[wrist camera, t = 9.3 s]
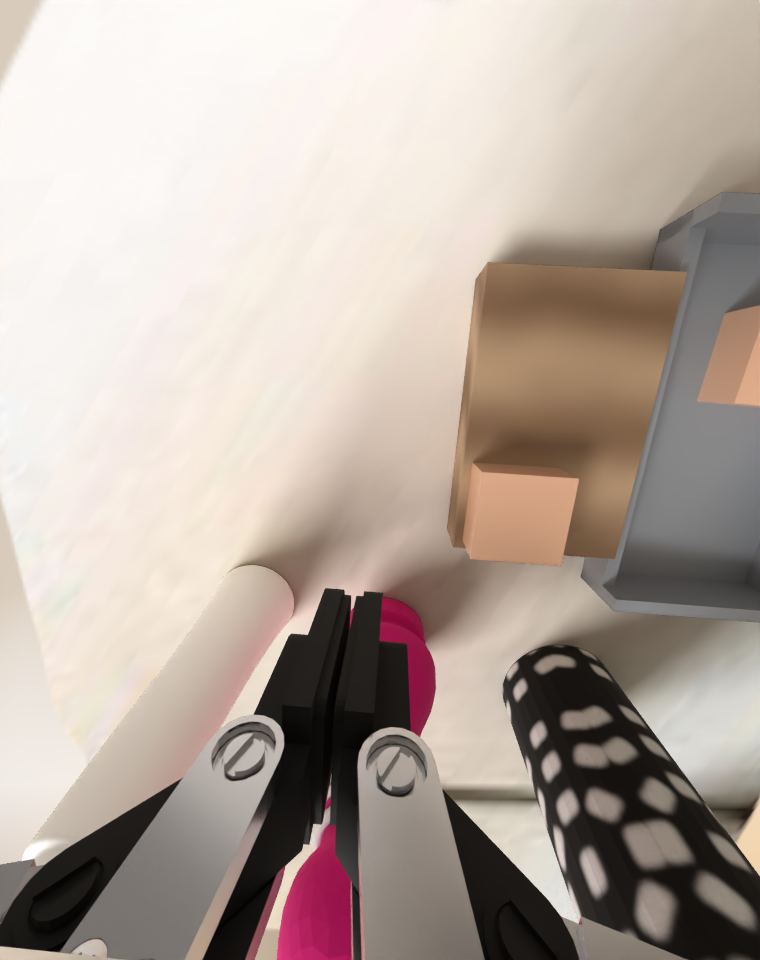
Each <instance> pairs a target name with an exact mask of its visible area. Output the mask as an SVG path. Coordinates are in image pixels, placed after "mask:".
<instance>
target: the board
mask: <svg viewBox="0 0 760 960" xmlns="http://www.w3.org/2000/svg"><path fill="white" fill-rule="evenodd" d="M686 275H687V272H676V271H656V270H636V269H615V268H595V267H574V266H554V265H533V264H513V263H492V262H488V263H487V265H486V266H485V267H484V269H483V270H482V272H481V273H480V274H479V276H478V277H477V278H476V282H475V291H474V299H473V308H472V317H471V325H470V334H469V343H468V352H467V360H466V369H465V378H464V386H463V395H462V404H461V412H460V421H459V430H458V438H457V447H456V456H455V464H454V473H453V482H452V490H451V499H450V508H449V516H448V525H447V530H448V533H449V536H450V538H451V541H452V544H453V547H460V548H465V545H464V543H463V541H462V540H463V532H464V524H465V516H466V508H467V501H468V493H469V485H470V477H471V469H472V462H475V463H490V464H505V465H520V466H535V467H550V468H559V469H561V470H563V471H565V472H567V473H569V474H571V475H573V476H575V477H577V478H579V483H578V488H577V492H576V497H575V502H574V507H573V511H572V516H571V521H570V526H569V531H568V535H567V540H566V545H565V550H564V554H563V555H567V556H580V557H594V558H607V559H615V557H616V553H617V549H618V545H619V541H620V537H621V533H622V529H623V525H624V521H625V517H626V513H627V509H628V505H629V501H630V497H631V493H632V489H633V485H634V481H635V478H636V474H637V470H638V466H639V462H640V458H641V454H642V450H643V446H644V442H645V438H646V434H647V430H648V426H649V422H650V418H651V414H652V410H653V406H654V402H655V398H656V394H657V390H658V386H659V382H660V378H661V374H662V370H663V366H664V362H665V358H666V355H667V351H668V347H669V343H670V339H671V335H672V331H673V327H674V323H675V319H676V315H677V311H678V307H679V303H680V299H681V295H682V291H683V287H684V283H685V279H686Z"/></svg>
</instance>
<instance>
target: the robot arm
mask: <svg viewBox="0 0 760 960" xmlns="http://www.w3.org/2000/svg"><path fill="white" fill-rule="evenodd" d="M382 596H383V593H379V592H366V591H364V596H356V601H355V606H354V611H353V616H352V621H351V626H350V613H351V595H345V591H344V590H341V589H328V588H326V589H325V590H324V593H323V596H322V598H321V601H320V604H319V606H318V609H317V612H316V615H315V617H314V620H313V623H312V625H311V628H310V631H309V633H308V635H301V634H291V635H290V636H289V637H288V639H287V641H286V644H285V646H284V648H283V650H282V652H281V655H280V657H279V659H278V661H277V664H276V666H275V668H274V670H273V673H272V675H271V677H270V679H269V682H268V684H267V686H266V688H265V690H264V693H263V695H262V697H261V699H260V702H259V704H258V706H257V708H256V711H255V713H254V715H249V716H244V717H240V718H238V719H235V720H233V721H231V722H229V723H228V724H226V725H225V726H223V727H222V728H221V729H219V730H218V731H217V732H216V734H215V735H214V736H213V737H212V738H211V739H210V740H209V742H208V743H207V745H206V746H205V747H204V749H203V750H202V752H201V753H200V754H199V756H198V757H197V759H196V760H195V762H194V763H193V764H192V766H191V767H190V769H189V770H188V771H187V773H186V774H185V776H184V777H183V778H181V779H179V780H178V781H176V782H175V783H173V784H171V785H170V786H168V787H166V788H165V789H163V790H161V791H160V792H158V793H157V794H155V795H153V796H152V797H150V798H148V799H147V800H145V801H143V802H142V803H140V804H139V805H137V806H135V807H134V808H132V809H130V810H129V811H127V812H125V813H124V814H122V815H121V816H119V817H117V818H116V819H114V820H112V821H111V822H109V823H107V824H106V825H104V826H102V827H101V828H99V829H98V830H96V831H94V832H93V833H91V834H89V835H88V836H86V837H84V838H83V839H81V840H80V841H78V842H76V843H75V844H73V845H71V846H70V847H68V848H66V849H65V850H64V851H62V852H61V853H60V854H58V855H57V856H55V857H54V858H53V859H51V860H50V861H49V862H47V863H46V864H45V865H40V866H36V863H35V859H30V860H24V861H18V862H13V863H7V864H1V865H0V960H255V957H256V954H257V951H258V948H259V945H260V942H261V939H262V936H263V934H264V931H265V928H266V925H267V923H268V920H269V917H270V914H271V911H272V908H273V905H274V903H275V900H276V897H277V894H278V891H279V888H280V886H281V883H282V879H283V874H284V870H285V866H286V865H287V864H288V863H289V862H290V861H291V860H292V859H293V858H294V857H295V856H296V855H297V854H299V853H300V852H301V851H302V848H303V844H308V845H309V843H310V838H311V833H312V827H313V824H320V825H322V823H323V818H324V813H325V807H326V801H327V796H328V790H329V784H330V778H331V804H330V826H336V837H335V855H336V857H337V858H338V860H339V862H340V863H341V865H342V867H343V868H344V870H345V872H346V873H347V875H348V877H349V878H350V880H351V889H350V890H351V954H352V960H687V959H684V958H682V957H679V956H677V955H674V954H672V953H670V952H667V951H665V950H662V949H660V948H657V947H655V946H652V945H650V944H647V943H645V942H642V941H640V940H638V939H635V938H633V937H630V936H628V935H625V934H623V933H620V932H618V931H615V930H613V929H610V928H608V927H606V926H603V925H601V924H598V923H596V922H593V921H591V920H588V919H586V918H583V917H581V918H580V921H579V924H578V923H575V922H573V921H570V920H568V919H566V918H563V917H561V916H560V915H559V914H558V912H557V911H556V910H555V908H554V907H553V906H552V905H551V903H550V902H549V901H548V899H547V898H546V897H545V896H544V895H543V894H542V893H541V892H540V891H539V890H538V889H537V888H536V887H535V886H534V885H533V884H532V883H531V882H530V880H529V879H528V878H527V877H526V876H525V875H524V874H523V873H522V872H521V871H520V870H519V869H518V868H517V867H516V866H515V865H514V864H513V863H512V862H511V861H510V860H509V858H508V857H507V856H506V855H505V854H504V853H503V852H502V851H501V850H500V849H499V848H498V847H497V846H496V845H495V844H494V843H493V842H492V841H491V840H490V839H489V838H488V836H487V835H486V834H485V833H484V832H483V831H482V830H481V829H480V828H479V827H478V826H477V825H476V824H475V823H474V822H473V821H472V820H471V819H470V818H469V817H468V816H467V814H466V813H465V812H464V811H463V810H462V809H461V808H460V807H459V806H458V805H457V804H456V803H455V802H454V801H453V800H452V799H451V798H450V797H449V796H448V795H447V794H446V792H445V791H444V790H443V789H442V787H441V783H440V779H439V775H438V771H437V767H436V763H435V760H434V757H433V755H432V752H431V750H430V748H429V747H428V746H427V744H426V743H425V742H424V741H423V739H421V738H420V737H419V736H417V735H416V734H415V733H413V732H411V722H410V697H409V673H408V649H407V643H398V642H386V641H379V640H380V626H381V611H382ZM331 773H332V775H331Z"/></svg>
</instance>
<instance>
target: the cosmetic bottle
mask: <svg viewBox="0 0 760 960" xmlns="http://www.w3.org/2000/svg"><path fill="white" fill-rule="evenodd" d="M293 611H294V597H293V593H292V591H291V589H290V587H289V585H288V584H287V582H286V581H285V580H284V579H283V578H282V577H281V576H280V575H279V574H277V573H276V572H274V571H273V570H271V569H268V568H266V567H262V566H257V565H246V566H241V567H238V568H235V569H233V570H231V571H230V572H228V573H227V574H226V575H225V576H224V577H223V578H222V580H221V581H220V583H219V585H218V587H217V589H216V591H215V593H214V594H213V596H212V598H211V600H210V601H209V603H208V605H207V606H206V608H205V609H204V611H203V612H202V614H201V615H200V617H199V618H198V620H197V621H196V623H195V624H194V626H193V627H192V628H191V630H190V631H189V633H188V634H187V635H186V637H185V638H184V640H183V641H182V642H181V644H180V645H179V646H178V648H177V649H176V650H175V652H174V653H173V654H172V656H171V657H170V658H169V660H168V661H167V662H166V664H165V665H164V666H163V668H162V669H161V670H160V672H159V673H158V674H157V676H156V677H155V678H154V680H153V681H152V682H151V683H150V685H149V686H148V687H147V689H146V690H145V691H144V693H143V694H142V695H141V696H140V698H139V699H138V700H137V702H136V703H135V704H134V706H133V707H132V708H131V709H130V711H129V712H128V713H127V715H126V716H125V717H124V719H123V720H122V721H121V722H120V724H119V725H118V726H117V728H116V729H115V730H114V732H113V733H112V734H111V735H110V737H109V738H108V739H107V741H106V742H105V743H104V745H103V746H102V747H101V749H100V750H99V751H98V753H97V754H96V755H95V757H94V758H93V759H92V760H91V762H90V763H89V764H88V766H87V767H86V768H85V770H84V771H83V772H82V774H81V775H80V776H79V778H78V779H77V780H76V782H75V783H74V784H73V786H72V787H71V788H70V790H69V791H68V792H67V794H66V795H65V796H64V798H63V799H62V800H61V802H60V803H59V804H58V806H57V807H56V808H55V810H54V811H53V813H52V814H51V815H50V817H49V818H48V819H47V821H46V822H45V823H44V825H43V826H42V827H41V829H40V830H39V831H38V833H37V834H36V835H35V837H34V838H33V840H32V841H31V842H30V844H29V845H28V846H27V848H26V850H25V852H24V855H23V859H22V861H24V860H30V859H35V863H36V866H40V865H45V864H46V863H47V862H49V861H50V860H51V859H53V858H54V857H55V856H57V855H58V854H60V853H61V852H62V851H64V850H65V849H66V848H68V847H70V846H71V845H73V844H75V843H76V842H78V841H80V840H81V839H83V838H84V837H86V836H88V835H89V834H91V833H93V832H94V831H96V830H98V829H99V828H101V827H102V826H104V825H106V824H107V823H109V822H111V821H112V820H114V819H116V818H117V817H119V816H121V815H122V814H124V813H125V812H127V811H129V810H130V809H132V808H134V807H135V806H137V805H139V804H140V803H142V802H143V801H145V800H147V799H148V798H150V797H152V796H153V795H155V794H157V793H158V792H160V791H161V790H163V789H165V788H166V787H168V786H170V785H171V784H173V783H175V782H176V781H178V780H179V779H181V778H183V777H184V776H185V774H186V773H187V771H188V770H189V769H190V767H191V766H192V764H193V763H194V762H195V760H196V759H197V757H198V756H199V754H200V753H201V752H202V750H203V749H204V747H205V746H206V745H207V743H208V742H209V740H210V739H211V738H212V737H213V736H214V735H215V734H216V732H217V731H218V730H219V729H220V727H221V726H222V724H223V722H224V720H225V719H226V717H227V715H228V713H229V712H230V710H231V708H232V707H233V705H234V703H235V701H236V700H237V698H238V696H239V695H240V693H241V691H242V689H243V688H244V686H245V684H246V683H247V681H248V679H249V678H250V676H251V674H252V673H253V671H254V669H255V668H256V666H257V665H258V663H259V662H260V660H261V658H262V657H263V655H264V654H265V652H266V651H267V649H268V648H269V646H270V645H271V644H272V642H273V641H274V639H275V638H276V637H277V635H278V634H279V633H280V631H281V630H282V629H283V628H284V627H285V625H286V624H287V623H288V622H289V620H290V618H291V616H292V614H293Z"/></svg>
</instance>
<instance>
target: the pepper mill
mask: <svg viewBox="0 0 760 960" xmlns="http://www.w3.org/2000/svg"><path fill="white" fill-rule="evenodd" d="M353 611H354V609H353V610H352V611H351V613H350V626H351V621H352V616H353ZM379 641H386V642H398V643H407V649H408V673H409V697H410V722H411V732H413V733H415V734H416V735H417V736H419V737H420V735H421V733H422V730H423V728H424V726H425V724H426V721H427V719H428V717H429V715H430V713H431V709H432V705H433V701H434V696H435V690H436V681H435V666H434V662H433V659H432V656H431V654H430V652H429V650H428V649H427V647H426V645H425V640H424V631H423V626H422V623H421V620H420V618H419V617H418V615H417V614H416V613H415V612H414V611H413V610H412V609H411V608H410V607H409V606H407V605H406V604H404V603H402V602H400V601H397V600H394V599H389V598H382V611H381V626H380V640H379ZM330 804H331V786H329V790H328V796H327V801H326V807H325V813H324V818H323V823H322V825H320V824H315V825H314V828H313V831H312V847H313V851H314V852H313V853H312V854H311V855H310V856H309V858H308V859H307V860H306V861H305V863H304V864H303V865H302V867H301V868H300V869H299V871H298V873H297V875H296V877H295V879H294V881H293V884H292V886H291V889H290V891H289V894H288V896H287V900H286V903H285V906H284V909H283V914H282V920H281V926H280V933H279V939H278V952H277V960H352V954H351V890H350V889H351V880H350V878H349V877H348V875H347V873H346V872H345V870H344V868H343V867H342V865H341V863H340V862H339V860H338V858H337V857H336V855H335V837H336V826H330Z"/></svg>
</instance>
